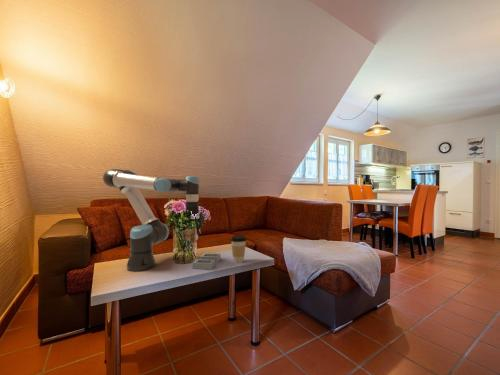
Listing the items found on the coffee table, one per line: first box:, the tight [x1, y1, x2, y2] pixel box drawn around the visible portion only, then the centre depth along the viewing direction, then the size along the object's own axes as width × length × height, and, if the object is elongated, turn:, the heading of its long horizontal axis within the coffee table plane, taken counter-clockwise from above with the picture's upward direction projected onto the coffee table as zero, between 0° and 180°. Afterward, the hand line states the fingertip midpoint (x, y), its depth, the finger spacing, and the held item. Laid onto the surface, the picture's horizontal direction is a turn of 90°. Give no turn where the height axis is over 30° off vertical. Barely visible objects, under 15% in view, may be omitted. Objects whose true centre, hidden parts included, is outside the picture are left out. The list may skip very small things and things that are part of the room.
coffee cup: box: [230, 235, 247, 264], centre depth 145 cm, size 10×10×15 cm
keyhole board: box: [192, 252, 221, 270], centre depth 140 cm, size 11×20×3 cm, turn 173°
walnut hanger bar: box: [182, 228, 196, 242], centre depth 142 cm, size 5×19×7 cm, turn 173°
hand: (191, 239), depth 142 cm, fingers closed on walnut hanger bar, 5 cm apart
